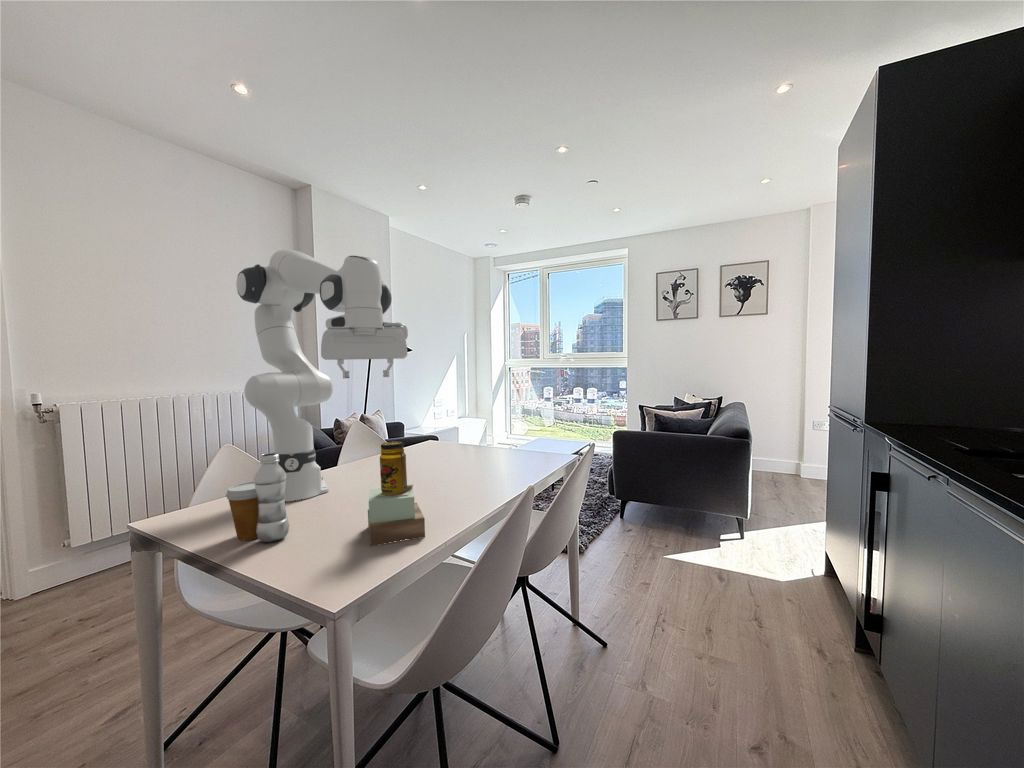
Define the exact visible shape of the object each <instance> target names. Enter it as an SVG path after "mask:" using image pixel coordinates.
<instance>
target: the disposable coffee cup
mask: <svg viewBox="0 0 1024 768" xmlns="http://www.w3.org/2000/svg"><path fill="white" fill-rule="evenodd" d="M225 497H226V499H227V500H228V503H229V508H230V512H231V515H232V516H231V517H232V520H233V524H234V530H235V534H236V537H237V540H240V541H249V540H254V539H255V540H256V539H258V538H257V534H256V527H257V522H258V501H257V494H256V489H255V484H254V480H253V481H248V482H243V483H238V484H235V485H233V486H230V487H228V488H227V491H226V494H225Z"/></svg>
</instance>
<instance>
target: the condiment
mask: <svg viewBox="0 0 1024 768" xmlns="http://www.w3.org/2000/svg"><path fill="white" fill-rule="evenodd" d="M379 466H380V467H379V469H380V470H379V471H380V474H379V475H380V488H381V492H380V493H379V494H378V495H377V497H388V496H389V497H390V496H401V495H408V494H409V492H410V491H411V489H412V487H413V488H414V485H415V484H408V478H407V477H408V475H407V455H406V453H405V449H404V442H403V441H388V442H383V443H382V444H380V455H379Z"/></svg>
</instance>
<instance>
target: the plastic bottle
mask: <svg viewBox="0 0 1024 768" xmlns="http://www.w3.org/2000/svg"><path fill="white" fill-rule="evenodd" d="M279 461H280V459H279V453H274V452H271V453H269V452H268V453H264V454H261V455H260V461H259V465H260V464H261V466H260V467H259V468H258V470H257V471H256V473H255V474H254V477H253V481H254V484H255V489H256V494H257V501H258V522H257V527H256V534H257V538H256V539H258V540H259V541H260V542H263V543H270V542H271V543H272V542H276V541H279V540H281V539H284V538H286V536H287V535H288V533H289V531H290V523H289V519H288V517H287V509H286V502H285V499H284V498H285V485H286V473H285V471H284V470H283V468H282V467H281V466H280V465H279V464H278V462H279Z"/></svg>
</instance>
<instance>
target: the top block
mask: <svg viewBox="0 0 1024 768" xmlns="http://www.w3.org/2000/svg"><path fill="white" fill-rule="evenodd" d="M380 492H381V487H380V488H372V489H370V493H369V496H368V497H369V498H368V509H369V524H370V523H378V522H387V521H395V520H403V519H411V518H415V504H414V503H415V494H414V493H415V492H414V486H413V487H412V489H411V491H410V492H409V494H408V495H401V496H390V497H389V496H388V497H377V495H378V494H379V493H380Z"/></svg>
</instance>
